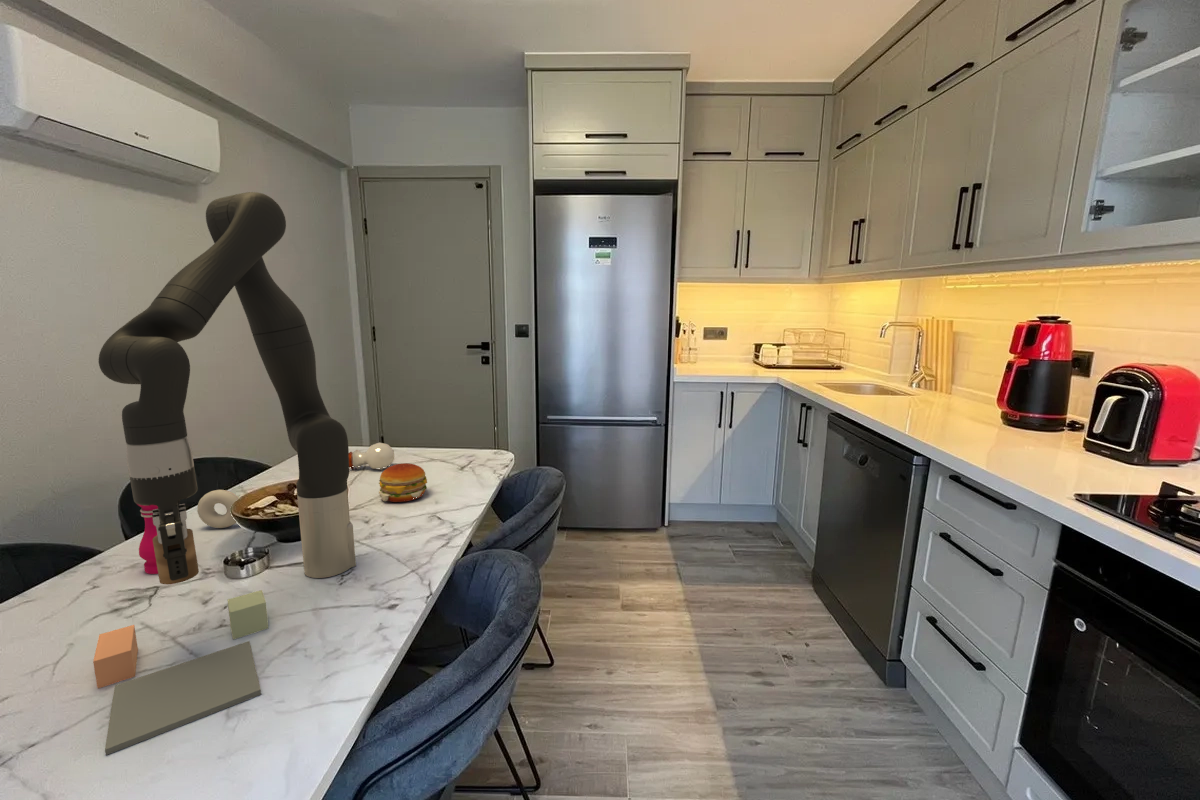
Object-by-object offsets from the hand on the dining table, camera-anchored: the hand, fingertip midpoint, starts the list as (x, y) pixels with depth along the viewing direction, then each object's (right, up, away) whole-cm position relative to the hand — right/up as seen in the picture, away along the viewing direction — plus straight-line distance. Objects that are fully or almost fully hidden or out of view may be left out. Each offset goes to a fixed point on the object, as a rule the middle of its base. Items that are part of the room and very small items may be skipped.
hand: (179, 570), depth 80 cm
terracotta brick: (-7, -14, -3) cm, 16 cm away
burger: (+8, -2, +70) cm, 71 cm away
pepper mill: (-26, -9, +28) cm, 39 cm away
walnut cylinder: (0, -1, 0) cm, 1 cm away
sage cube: (+6, -12, +8) cm, 16 cm away
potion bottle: (-13, +3, +96) cm, 97 cm away
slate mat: (+8, -15, -8) cm, 18 cm away
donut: (-29, -5, +47) cm, 56 cm away
